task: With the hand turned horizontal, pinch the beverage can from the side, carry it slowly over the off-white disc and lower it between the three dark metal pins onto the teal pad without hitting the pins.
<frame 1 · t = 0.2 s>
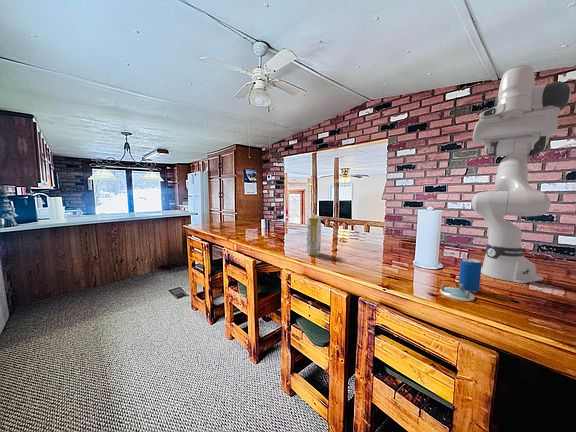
hand: (509, 150, 77), 52 cm above the table, tool tilted 20°, fingers open, 8 cm apart
pin cradle: (456, 294, 88), on the table
juice carton: (313, 254, 145), on the table
beverage can: (468, 290, 93), on the table
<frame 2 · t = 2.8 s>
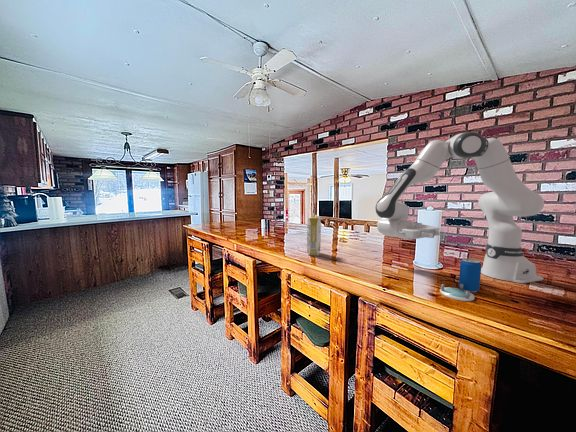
hand: (439, 234, 101), 20 cm above the table, tool horizontal, fingers open, 8 cm apart
nothing on the table moved.
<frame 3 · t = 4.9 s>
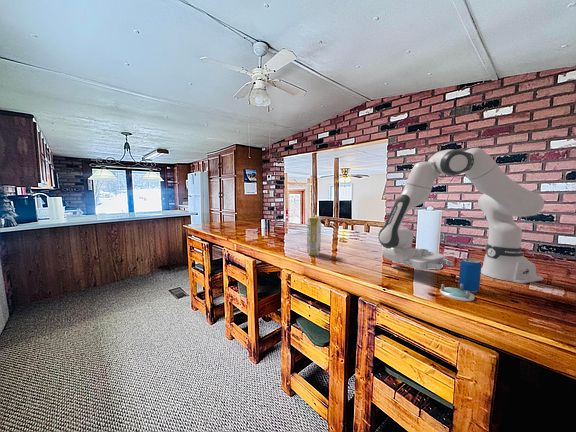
hand: (446, 265, 99), 7 cm above the table, tool horizontal, fingers open, 8 cm apart
nothing on the table moved.
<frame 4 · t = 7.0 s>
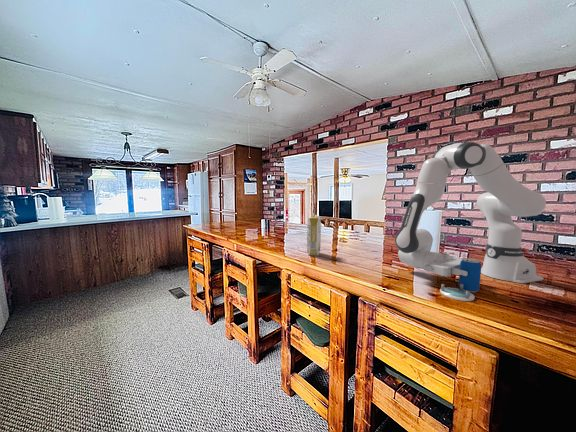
hand: (472, 271, 91), 8 cm above the table, tool horizontal, fingers closed on beverage can, 6 cm apart
beverage can: (468, 290, 93), on the table, touching gripper
everything else where it was.
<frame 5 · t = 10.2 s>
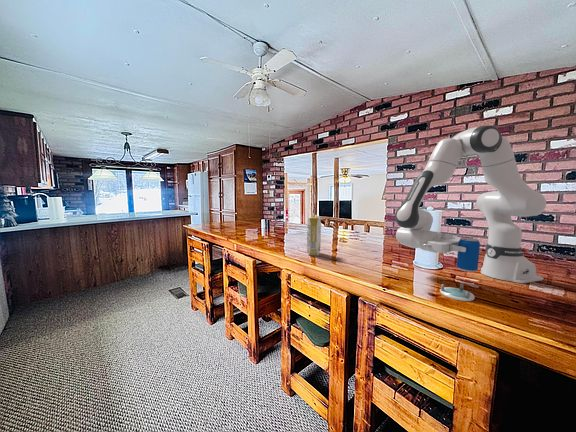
hand: (471, 248, 89), 17 cm above the table, tool horizontal, fingers closed on beverage can, 6 cm apart
beverage can: (466, 270, 91), point 8 cm above the table, touching gripper
everything else where it was.
when the fingers open (10 cm above the table, at t = 13.4 s): beverage can stays where it is, resting on pin cradle.
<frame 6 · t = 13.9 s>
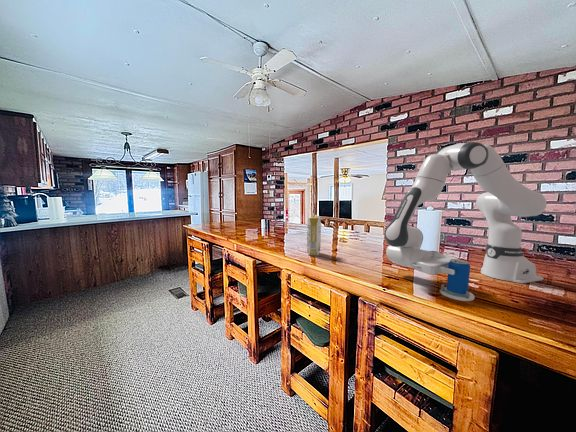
hand: (461, 270, 86), 10 cm above the table, tool horizontal, fingers open, 8 cm apart
beverage can: (456, 293, 88), point 1 cm above the table, touching pin cradle
everything else where it was.
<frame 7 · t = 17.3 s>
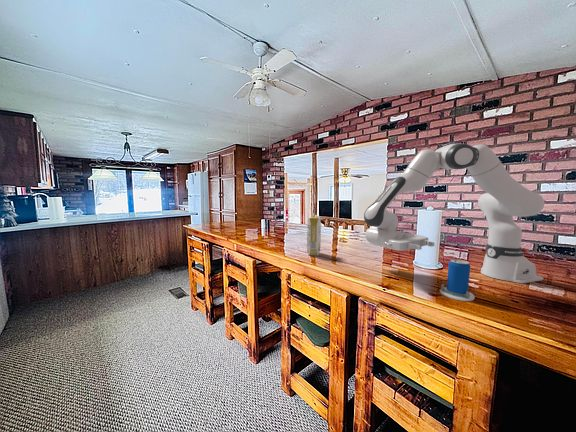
hand: (427, 246, 97), 16 cm above the table, tool horizontal, fingers open, 8 cm apart
nothing on the table moved.
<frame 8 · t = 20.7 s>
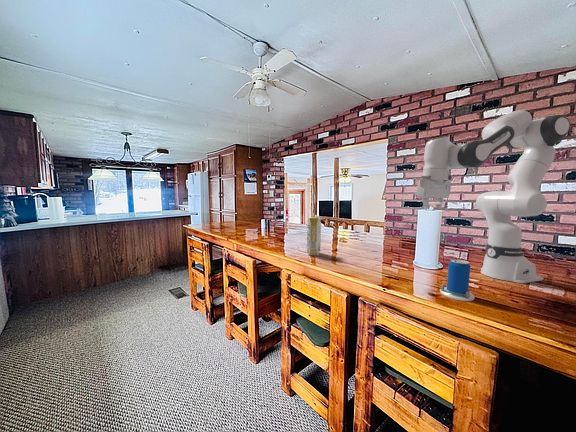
hand: (432, 208, 102), 31 cm above the table, tool pointing down, fingers open, 8 cm apart
nothing on the table moved.
at the end: beverage can 0.1 cm off-centre on the pin cradle, point 0.7 cm above the pin cradle's base; beverage can tilted 0°; the gripper is holding nothing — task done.
